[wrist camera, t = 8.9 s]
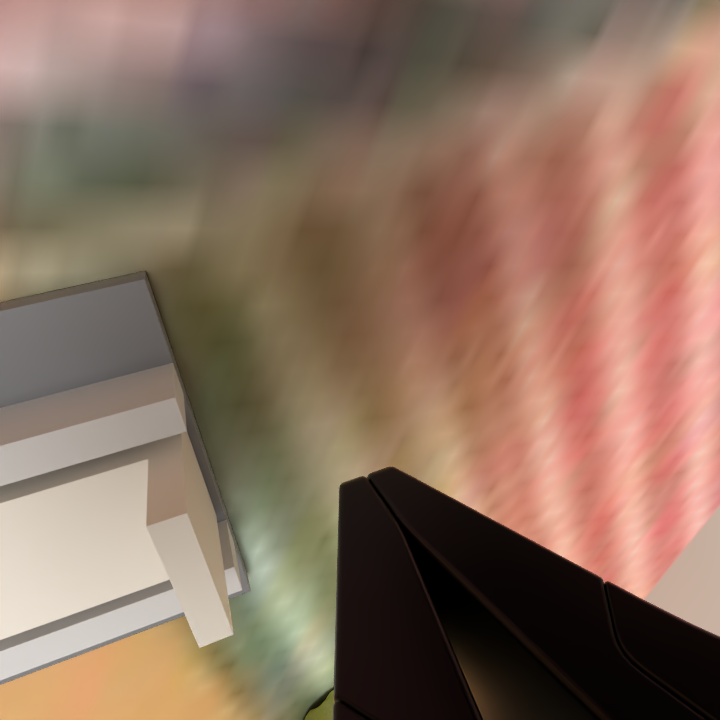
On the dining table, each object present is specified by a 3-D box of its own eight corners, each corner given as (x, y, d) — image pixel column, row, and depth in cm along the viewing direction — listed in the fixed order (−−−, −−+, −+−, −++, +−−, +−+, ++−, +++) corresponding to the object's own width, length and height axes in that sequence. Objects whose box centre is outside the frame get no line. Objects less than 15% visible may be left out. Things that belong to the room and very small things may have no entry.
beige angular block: (179, 410, 18) (187, 512, 13) (216, 515, 20) (233, 634, 15) (-88, 486, 16) (-187, 636, 11) (-15, 592, 18) (-74, 754, 14)
